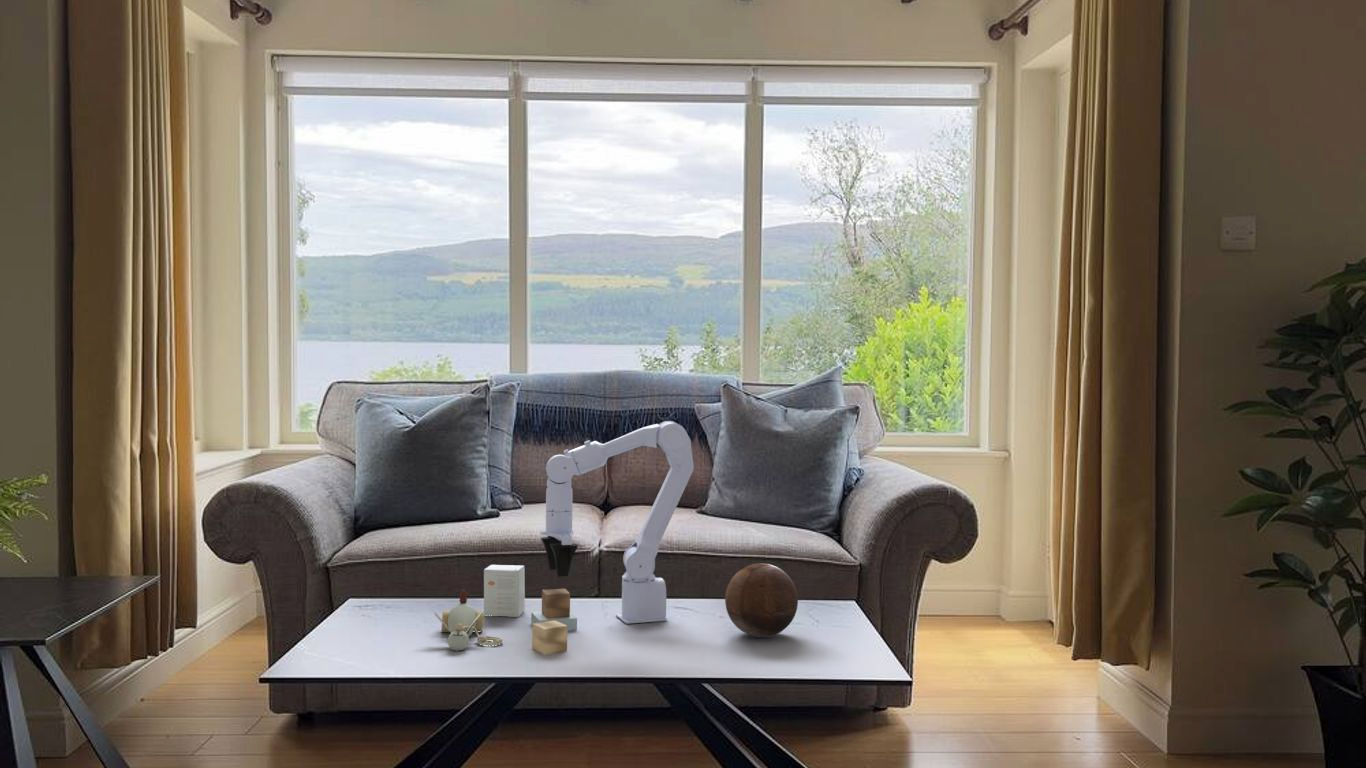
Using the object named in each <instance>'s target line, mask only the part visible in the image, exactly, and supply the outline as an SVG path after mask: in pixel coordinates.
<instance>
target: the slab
mask: <svg viewBox="0 0 1366 768" xmlns="http://www.w3.org/2000/svg"><path fill="white" fill-rule="evenodd" d="M530 614H531V617H530V618H531V619H530V620H531V621H530V622H531V625H532V624H534V623H541V622H547V621H554V620H555V621H558V622H560V623H562V624H564V625H567V632H568V631H569V630H570V631H577V630H578V617H576V615H574V614H573V612H571V611H570V617H564V618H549V619H546V618H545V616H544V615H543V614H542V610H541V611H531V613H530ZM570 631H569V632H570Z"/></svg>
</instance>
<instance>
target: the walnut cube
mask: <svg viewBox="0 0 1366 768" xmlns="http://www.w3.org/2000/svg"><path fill="white" fill-rule="evenodd" d="M541 611H542V614H543V615H544V616H545V618H546V619H549V618H564V617H570V612H571V593H570V592H569V591H568V590H567V589H566V588H555V589H553V588H552V589H542V590H541Z"/></svg>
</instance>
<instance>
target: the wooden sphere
mask: <svg viewBox="0 0 1366 768" xmlns="http://www.w3.org/2000/svg"><path fill="white" fill-rule="evenodd" d="M798 596H799V595H798V592H797V588H796V586H795V583H794V582H793V580H792V579H791V577H790V576H789V575H788V574H787V573H786V572H785V571H784V570H782V569H781V568H779V567H778V566H775V565H772V564H769V563H762V562H761V563H758V562H757V563H753V564H752V563H751V564H749V565H747V566H745V567H743V568H741V569H740V570H739V571H737V572H736V573H735V574H734V575H733V576H732V578H731V579H730V581H729V582H728V585H727V588H726V592H725V596H724V599H725V600H724V602H725V609H726V612H727V616H728V617H729V619H730V621H731V622H732V623H733V625H734V626H735V627H736V628H738V629H739V630H740V631H741V632H742V633H744V634H746V635H748V636H752V637H756V638H768V637H772V636H775V635H778V634H780V633H782V632H783V631H784V630H785V629H787V628H788V627H789V626H790V624H791V623H792V622H793V620H794V619H795V616H796V613H797V610H798V606H799V603H798V602H799V598H798Z"/></svg>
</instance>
